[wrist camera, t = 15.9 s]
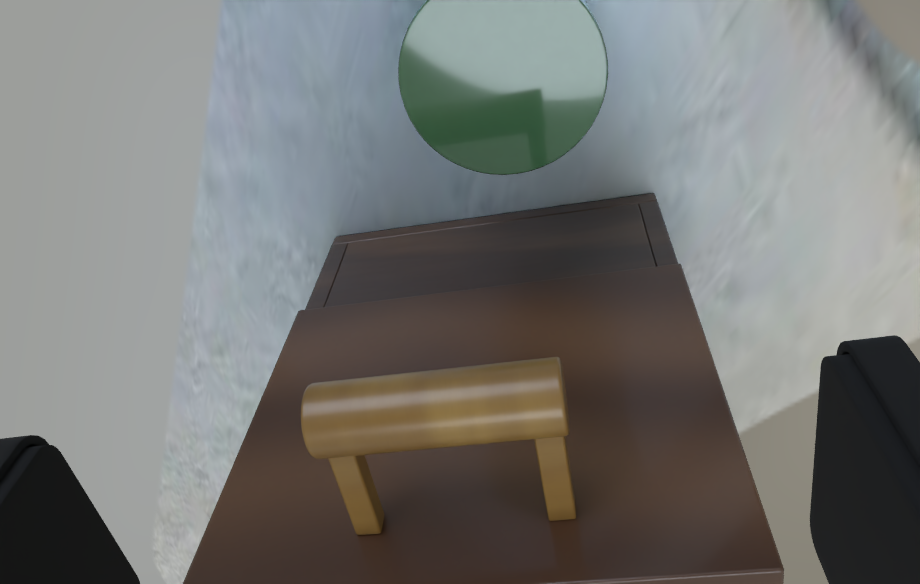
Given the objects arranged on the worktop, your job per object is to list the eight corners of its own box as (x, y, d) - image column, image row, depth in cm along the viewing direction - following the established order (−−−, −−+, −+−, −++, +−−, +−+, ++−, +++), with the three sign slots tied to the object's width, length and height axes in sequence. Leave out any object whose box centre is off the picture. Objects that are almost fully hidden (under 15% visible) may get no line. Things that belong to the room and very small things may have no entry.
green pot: (410, -59, 30) (376, -12, 23) (579, -91, 29) (598, -52, 22) (442, 102, 33) (421, 187, 26) (595, 78, 32) (616, 160, 25)
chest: (668, 410, 41) (690, 503, 36) (395, 436, 43) (378, 527, 38) (654, 192, 35) (679, 265, 29) (334, 236, 37) (303, 311, 31)
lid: (784, 593, 18) (792, 411, 15) (181, 629, 20) (90, 477, 17) (681, 280, 29) (675, 144, 26) (303, 326, 31) (261, 204, 28)
